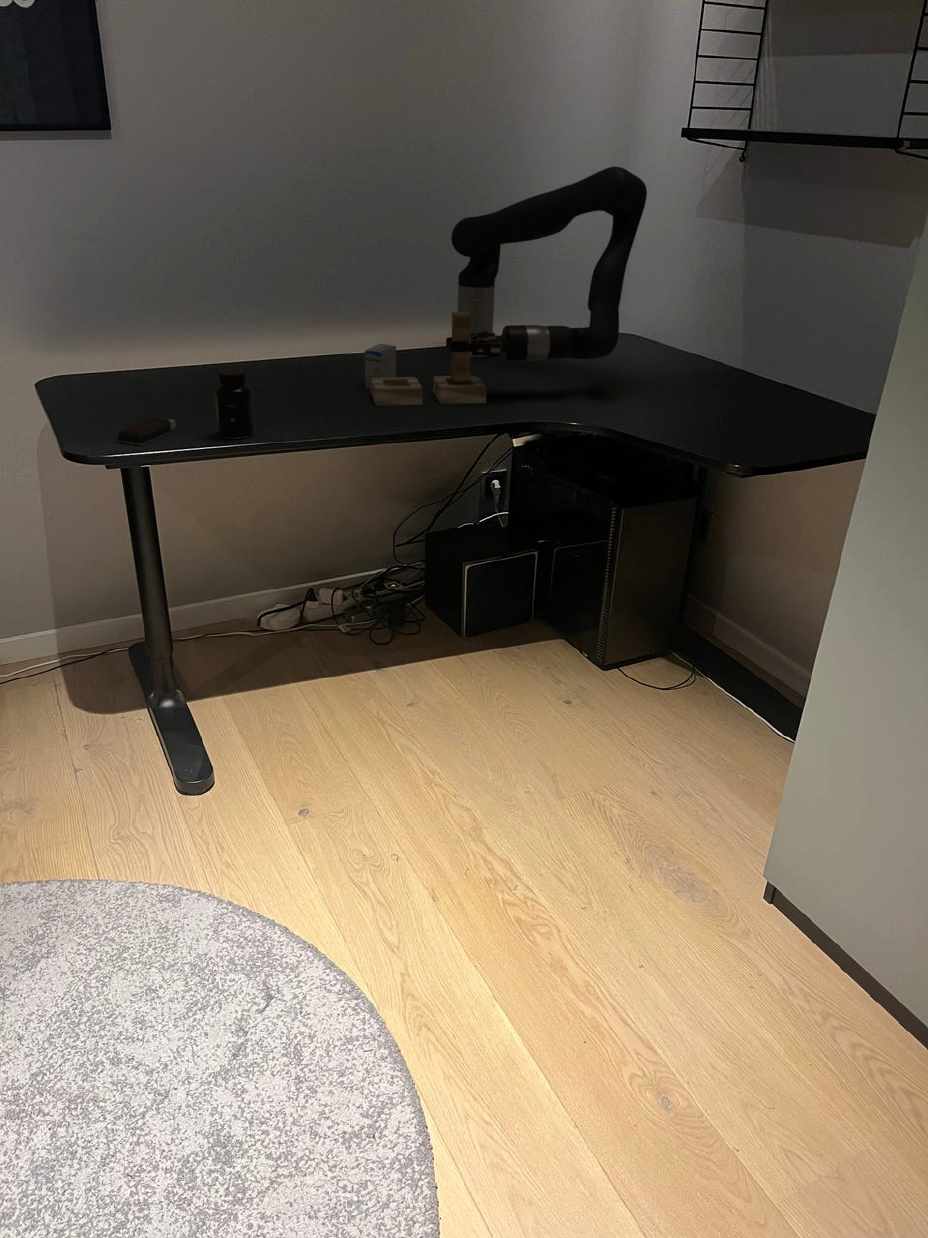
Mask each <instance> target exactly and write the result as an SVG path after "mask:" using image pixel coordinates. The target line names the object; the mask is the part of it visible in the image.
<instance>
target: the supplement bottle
mask: <svg viewBox="0 0 928 1238" xmlns="http://www.w3.org/2000/svg"><path fill="white" fill-rule="evenodd" d="M246 382H247V380H246V373H245V371H244V370H242V369H235V368H233V369H223V370H220V371H219V372H218V383H219V384H220V385H218V386H217V387H216V388H215V390H214V402H215V409H216V410H215V411H216V420H217V422H216V423H217V430H218V435H219V436H220V435H221V436H223V437H229V438H237V437H245V436H250V435H252V434H253V435H255V431H256V430H255V419H254V418H255V417H254V405H253V404H254V403H253V392H252V391H253V390H252V389H251V387H250V386H248V385H247V384H246ZM221 436H220V437H221Z"/></svg>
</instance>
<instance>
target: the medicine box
mask: <svg viewBox="0 0 928 1238" xmlns="http://www.w3.org/2000/svg"><path fill="white" fill-rule="evenodd" d="M364 370H365V371H364V372H365V373H364V383H365V385H364V387H365V389H366V390H371V378H388V377H397V346H396V345H392V344H385V343H378V344H377V345H374V346H372V347H370V348H368V349H366V350H364Z"/></svg>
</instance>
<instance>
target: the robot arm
mask: <svg viewBox="0 0 928 1238" xmlns="http://www.w3.org/2000/svg"><path fill="white" fill-rule="evenodd" d="M647 196H648V191H647V186H646V184H645V181H643V179H641V178H640V177H638V176H637V175H635V174H633V173H632V172H630V170H627V169H626V168H624V167H621V166H610V167H607V168H604V169H602V170H599V171H597V172H595V173H593V174H591V175H589V176H587V177H585V178H582V179H581V180H578V181H576V182H574V183H570V184H568V185H567V184H566V185H565V186H562V187H559V188H556V189H553V190H551V191H547V192H543V193H542V192H541V193H540V194H537V195H533V196H531V197H528V198H526V199H523V200H520V201H518V202H515V203H513V204H510V205H508V206H506V207H503V208H502V209H498V210H497V211H495V212H492V213H488V214H482V215H478V216H470V217H464V218H463V219H462V218H461V219H460V221H458V222H457V223H456V224H455V226H454V228H453V229H452V232H451V237H450V239H451V245H452V247H453V249H454V251H456V253H458V254H459V255H461V256H463V257H466V258H469V261H468V263H467V265H466V266H465V267H464V268H463V269H462V270H460V272H459V273H458V278H457V279H458V280H457V281H458V283H457V312H469V313H470V314H471V340H469V341H468V343H467V341H452V336H451V337H449V336H448V337H446V338H445V339H446V340H445V346H446V348H447V349H449V352H450V353H452V352H467V351H468V353H470V354H471V358H484V357H485V358H486V357H500V356H501V355H502V358H503V360H504V361H505V362H524V361H525V362H529V361H533V362H534V361H541V360H554V359H557V360H559V359H566V358H567V359H568V358H569V359H579V360H594V359H599V358H603V357H606V356H608V355H610V354H611V353H612V352H613V351H614V350H615V348H616V346H617V344H618V340H619V333H620V311H619V308H620V304H621V298H622V293H623V292H622V291H623V285H624V279H625V276H626V275H625V274H626V269H627V266H628V261H629V257H630V254H631V251H632V248H633V244H634V241H635V238H636V235H637V232H638V228H639V225H640V224H641V223H640V222H641V220H642V215H643V213H644V210H645V206H646V202H647ZM593 212H605V213H607V214H609V215H611V216H612V229H611V233H610V238H609V241H608V242H607V243H608V244H607V245H606V247H605V249H604V250H603V252H602V253H601V256H600V257H599V259H598V260H597V261H596V262H597V263H596V264H595V265H594V269H593V272H592V276H591V280H590V286H589V293H588V299H587V309H588V310H589V312H590V315H589V318H590V319H589V325H588V326H587V327H570V326H566V325H539V324H519V325H516V324H515V325H512V324H511V325H509V324H508V325H505V326H504V327H503V328H502V331H501V332H502V333H501V335H496V332H494V312H495V311H494V310H495V290H496V289H495V286H496V285H495V284H496V283H495V282H496V278H497V275H498V273H499V267H500V258H501V245H506V244H515V243H523V242H530V241H535V240H539V239H540V240H541V239H543V238H546V237H549V236H554V235H556V234H559V233H560V232H562V231H563V230H564V229H566V228H567V227H568V226H569V224H570V223H571V222H572V221H573V220H574V219H575V218H576V217H579V216H580V215H581V216H582V215H584V214H589V213H593Z"/></svg>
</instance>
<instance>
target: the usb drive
mask: <svg viewBox="0 0 928 1238" xmlns="http://www.w3.org/2000/svg"><path fill="white" fill-rule="evenodd" d="M174 427H176V428H177V422H176V420H175V419H170V418H164V417H158V416H155V417H154V416H153V417H152V418H150V419H147V420H145V421H142V422H140V423H138V424H135V425H133V426H129V427H127V428H125V429H123V430H121V431H120V432H118V434H117V441H118V440H121V441H127V442H133V443H144V442H146V441H149V440H151V439H154V438H155V437H158V436H160V435H163V434H165V433H167V432H170V431H171V432H172V430H171V429H172V428H174Z"/></svg>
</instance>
